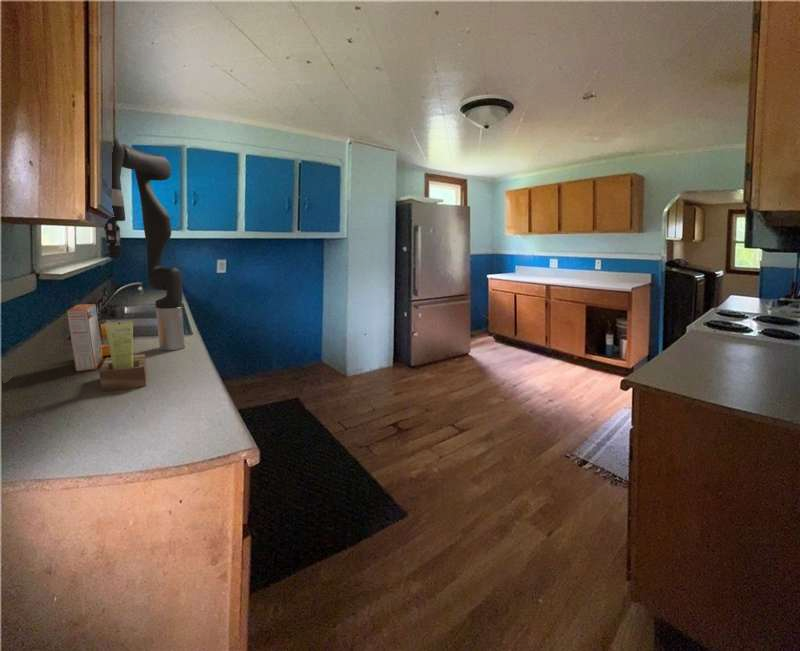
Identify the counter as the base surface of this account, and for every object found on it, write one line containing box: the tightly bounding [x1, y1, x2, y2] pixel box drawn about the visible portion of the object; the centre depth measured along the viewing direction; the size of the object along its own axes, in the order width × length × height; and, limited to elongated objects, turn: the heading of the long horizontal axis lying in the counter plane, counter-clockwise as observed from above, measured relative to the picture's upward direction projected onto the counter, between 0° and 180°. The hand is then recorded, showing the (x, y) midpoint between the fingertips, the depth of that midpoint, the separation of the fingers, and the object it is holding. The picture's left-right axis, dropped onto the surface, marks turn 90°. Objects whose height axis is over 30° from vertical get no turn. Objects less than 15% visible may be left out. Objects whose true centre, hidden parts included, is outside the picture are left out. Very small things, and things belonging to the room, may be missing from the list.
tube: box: [103, 320, 134, 369], centre depth 124 cm, size 6×5×20 cm
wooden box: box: [99, 353, 148, 393], centre depth 128 cm, size 16×11×6 cm
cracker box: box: [66, 303, 104, 372], centre depth 141 cm, size 14×6×21 cm, turn 27°
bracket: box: [100, 323, 111, 357], centre depth 157 cm, size 11×7×12 cm, turn 37°
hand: (115, 257), depth 129 cm, fingers open, 8 cm apart
